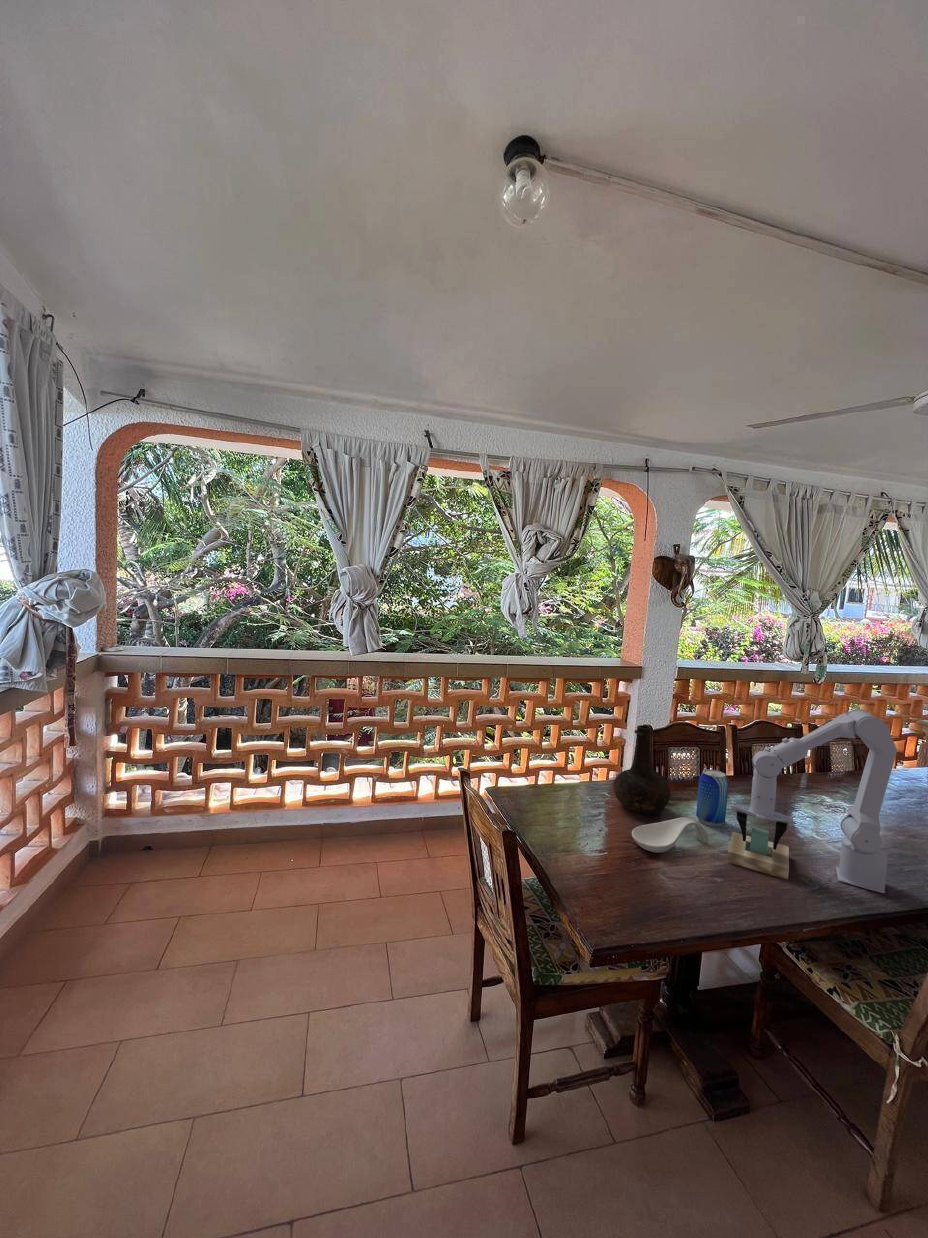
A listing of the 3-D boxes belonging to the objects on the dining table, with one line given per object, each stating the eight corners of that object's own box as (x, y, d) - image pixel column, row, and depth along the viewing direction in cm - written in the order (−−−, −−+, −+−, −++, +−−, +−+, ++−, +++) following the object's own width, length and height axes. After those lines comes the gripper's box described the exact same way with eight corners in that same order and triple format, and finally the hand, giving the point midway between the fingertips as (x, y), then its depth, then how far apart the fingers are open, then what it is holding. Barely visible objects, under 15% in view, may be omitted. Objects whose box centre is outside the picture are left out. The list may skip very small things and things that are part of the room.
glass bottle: (680, 816, 167) (687, 732, 165) (636, 823, 160) (642, 735, 159) (642, 795, 183) (648, 718, 182) (601, 800, 177) (606, 721, 175)
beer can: (690, 817, 167) (693, 769, 166) (709, 814, 170) (713, 767, 169) (710, 829, 159) (714, 778, 158) (731, 826, 162) (735, 776, 161)
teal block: (766, 859, 142) (768, 831, 142) (766, 865, 139) (768, 836, 138) (749, 854, 144) (752, 827, 144) (749, 860, 141) (751, 832, 140)
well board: (787, 856, 144) (788, 846, 144) (787, 879, 132) (788, 868, 132) (731, 841, 151) (732, 832, 151) (727, 862, 139) (728, 851, 139)
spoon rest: (649, 861, 138) (651, 836, 138) (622, 840, 149) (624, 816, 149) (717, 850, 146) (719, 826, 146) (686, 831, 157) (688, 808, 157)
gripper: (732, 793, 141) (728, 841, 142) (794, 808, 133) (790, 858, 134) (734, 786, 147) (730, 832, 148) (794, 799, 139) (790, 847, 140)
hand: (759, 844), depth 141 cm, fingers open, 7 cm apart
